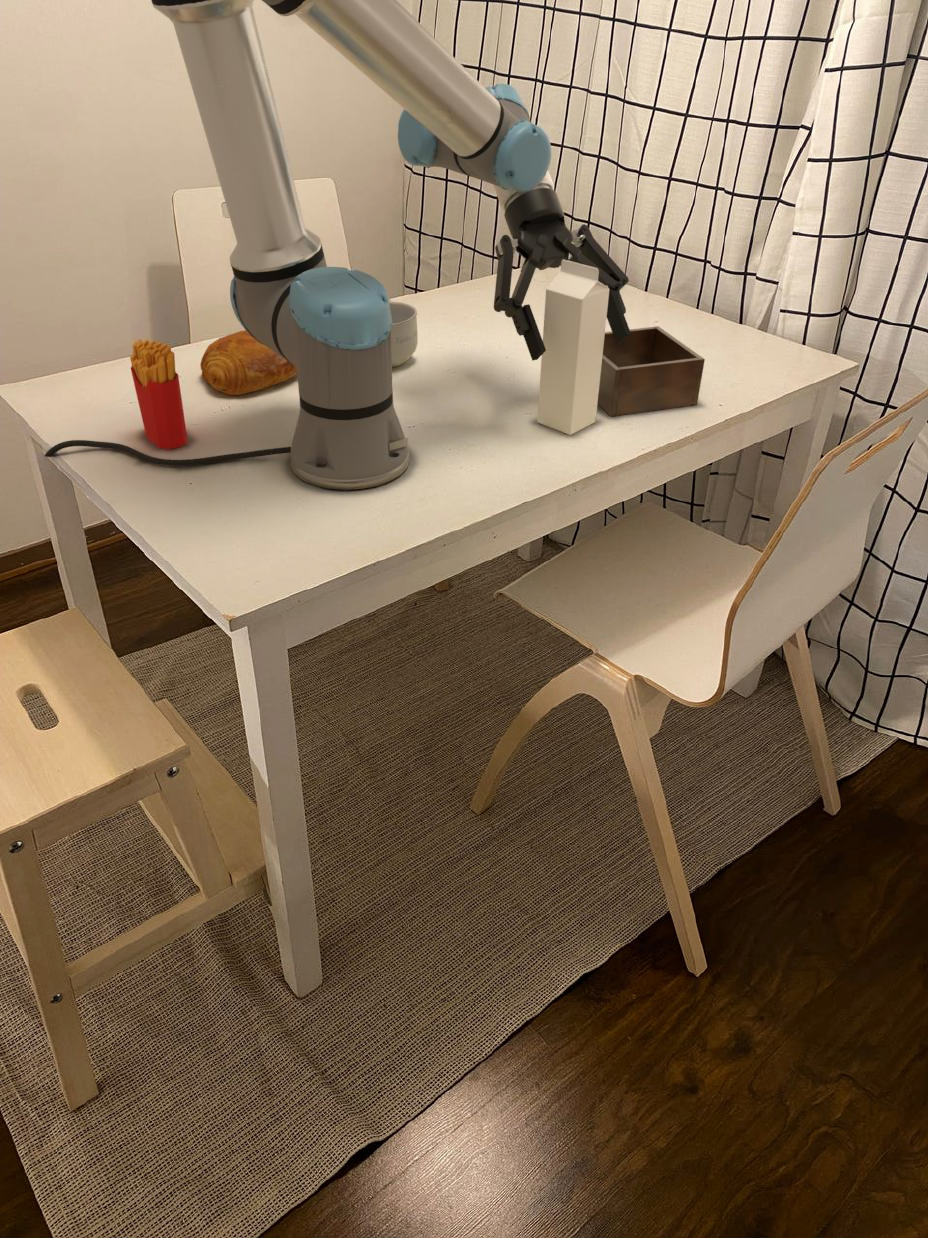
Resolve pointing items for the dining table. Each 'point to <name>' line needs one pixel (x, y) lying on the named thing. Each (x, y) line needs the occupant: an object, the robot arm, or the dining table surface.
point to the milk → (572, 348)
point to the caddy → (648, 373)
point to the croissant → (243, 365)
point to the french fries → (158, 393)
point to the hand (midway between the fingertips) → (582, 347)
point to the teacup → (403, 331)
